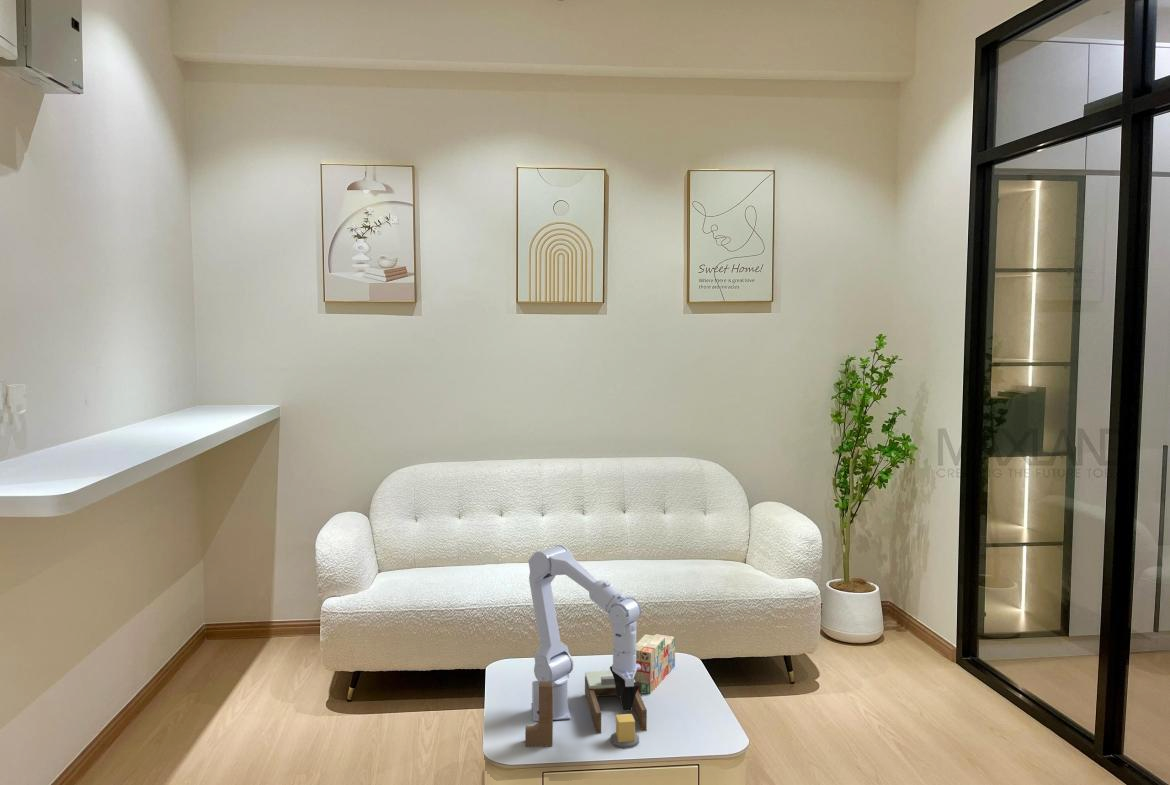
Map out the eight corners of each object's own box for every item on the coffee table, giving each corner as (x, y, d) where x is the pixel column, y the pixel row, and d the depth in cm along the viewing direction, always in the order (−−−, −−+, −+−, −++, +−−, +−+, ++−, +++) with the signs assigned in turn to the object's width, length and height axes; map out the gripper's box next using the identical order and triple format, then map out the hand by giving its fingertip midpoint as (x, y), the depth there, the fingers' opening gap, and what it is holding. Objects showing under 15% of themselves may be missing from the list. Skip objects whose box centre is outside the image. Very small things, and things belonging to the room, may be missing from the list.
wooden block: (552, 739, 198) (552, 680, 197) (552, 746, 194) (552, 686, 193) (526, 740, 198) (525, 680, 196) (525, 746, 194) (525, 686, 193)
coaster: (613, 748, 193) (613, 745, 193) (608, 734, 200) (608, 731, 200) (641, 747, 194) (641, 743, 194) (636, 733, 201) (636, 729, 201)
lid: (589, 688, 214) (589, 679, 213) (585, 674, 223) (585, 666, 222) (636, 686, 215) (636, 677, 215) (629, 672, 224) (629, 663, 224)
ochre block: (618, 742, 195) (618, 722, 195) (615, 734, 199) (615, 714, 199) (634, 741, 195) (634, 721, 195) (631, 733, 199) (631, 713, 199)
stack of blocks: (655, 663, 245) (656, 623, 244) (675, 666, 242) (675, 626, 241) (629, 690, 226) (629, 648, 225) (650, 695, 223) (650, 652, 222)
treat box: (596, 733, 201) (596, 713, 200) (584, 694, 223) (584, 676, 222) (646, 730, 202) (646, 710, 202) (630, 692, 224) (630, 673, 224)
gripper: (646, 659, 190) (646, 715, 190) (635, 637, 204) (634, 689, 205) (617, 661, 189) (616, 717, 190) (607, 638, 203) (607, 690, 204)
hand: (624, 702), depth 197 cm, fingers open, 7 cm apart
